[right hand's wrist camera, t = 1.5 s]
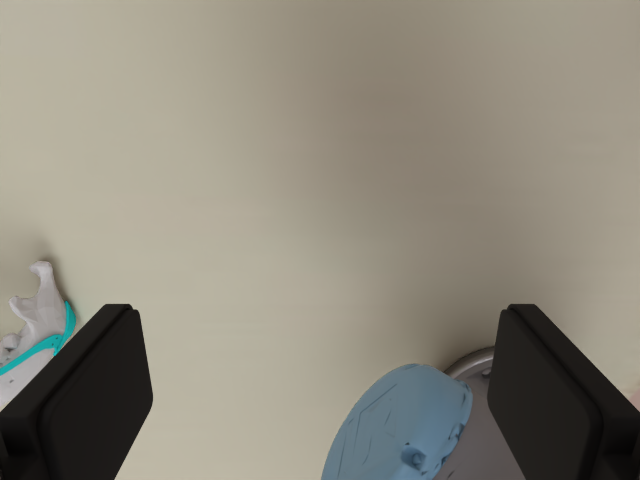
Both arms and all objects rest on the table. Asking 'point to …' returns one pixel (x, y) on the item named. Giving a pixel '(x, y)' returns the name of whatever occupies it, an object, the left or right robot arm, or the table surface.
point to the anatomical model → (34, 334)
